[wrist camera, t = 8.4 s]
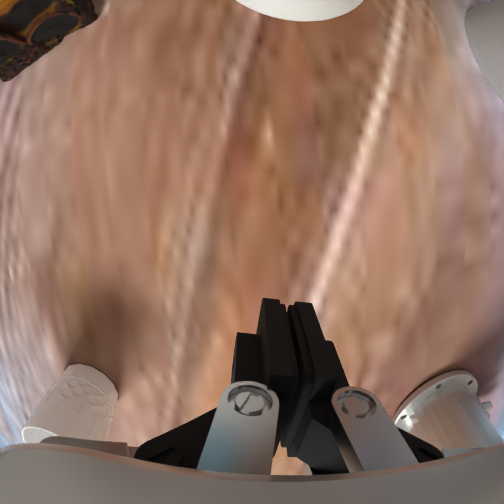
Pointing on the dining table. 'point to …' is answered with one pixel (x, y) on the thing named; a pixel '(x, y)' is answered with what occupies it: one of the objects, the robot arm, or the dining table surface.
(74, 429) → the white cup
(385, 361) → the dining table surface
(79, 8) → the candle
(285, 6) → the disc
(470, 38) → the lumpy-topped squat cylinder
